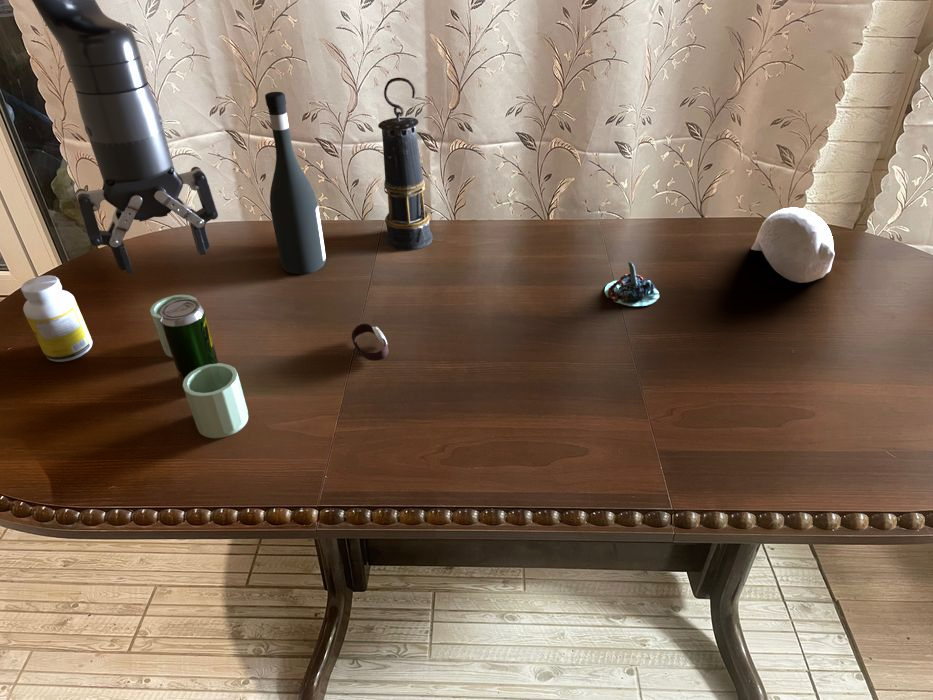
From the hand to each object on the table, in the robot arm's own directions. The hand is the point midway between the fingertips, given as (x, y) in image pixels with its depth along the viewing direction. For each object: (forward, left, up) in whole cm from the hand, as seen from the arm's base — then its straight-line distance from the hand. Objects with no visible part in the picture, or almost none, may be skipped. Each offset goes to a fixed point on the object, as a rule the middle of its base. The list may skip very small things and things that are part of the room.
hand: (166, 261), depth 80 cm
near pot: (0, -10, -19) cm, 21 cm away
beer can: (0, 0, -19) cm, 19 cm away
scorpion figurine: (+67, -15, -19) cm, 71 cm away
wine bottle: (+24, +24, -19) cm, 39 cm away
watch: (+23, -6, -19) cm, 30 cm away
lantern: (+45, +23, -19) cm, 54 cm away
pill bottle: (-15, +18, -19) cm, 30 cm away
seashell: (+97, -23, -19) cm, 101 cm away
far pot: (0, +10, -19) cm, 21 cm away
